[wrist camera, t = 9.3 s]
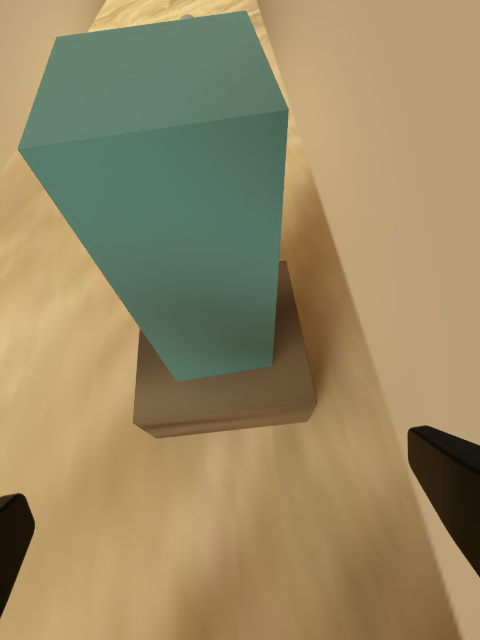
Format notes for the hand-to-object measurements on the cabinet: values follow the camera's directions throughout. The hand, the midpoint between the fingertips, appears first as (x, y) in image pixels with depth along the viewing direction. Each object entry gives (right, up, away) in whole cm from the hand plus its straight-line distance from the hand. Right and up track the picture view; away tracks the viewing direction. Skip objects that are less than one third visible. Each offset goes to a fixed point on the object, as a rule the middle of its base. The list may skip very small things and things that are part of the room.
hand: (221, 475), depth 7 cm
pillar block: (-1, +3, +10) cm, 11 cm away
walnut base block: (0, +1, +14) cm, 14 cm away
